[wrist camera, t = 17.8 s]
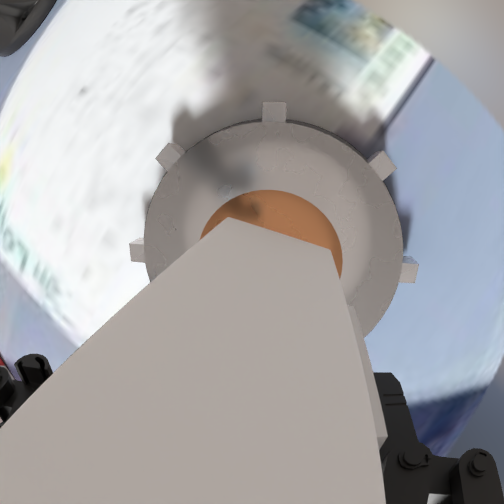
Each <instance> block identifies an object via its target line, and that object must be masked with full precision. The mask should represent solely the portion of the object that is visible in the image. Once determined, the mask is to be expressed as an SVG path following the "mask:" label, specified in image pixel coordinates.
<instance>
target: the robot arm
mask: <svg viewBox="0 0 504 504" xmlns="http://www.w3.org/2000/svg"><path fill="white" fill-rule="evenodd" d="M55 1H56V0H0V56H1V57H6V56H9V55H11V54H12V53H14V52H15V51H17V50H18V49H19V48H20V47H21V46H22V45H23V44H24V43H25V42H26V41H27V40H28V39H29V38H30V37H31V36H32V34H33V33H34V32H35V31H36V29H37V28H38V27H39V26H40V24H41V23H42V21H43V20H44V19H45V17H46V16H47V14H48V13H49V11H50V10H51V8H52V6H53V5H54V3H55ZM347 307H348V310H349V314H350V318H351V322H352V325H353V329H354V333H355V337H356V341H357V345H358V349H359V353H360V357H361V362H362V366H363V370H364V375H365V379H366V384H367V388H368V393H369V398H370V403H371V408H372V413H373V418H374V424H375V429H376V435H377V441H378V447H379V454H380V460H381V467H382V474H383V482H384V490H385V499H386V504H504V497H503V492H502V487H501V483H500V479H499V475H498V471H497V467H496V463H495V461H494V459H493V457H492V455H491V454H489V453H488V452H487V451H485V450H482V449H475V448H474V449H471V450H468V451H466V453H464V454H463V455H462V456H461V457H460V458H459V459H457V458H447V457H439V456H435V455H433V454H432V453H431V451H430V449H429V448H428V447H426V446H425V445H424V444H423V443H420V442H419V441H418V439H417V436H416V432H415V429H414V426H413V422H412V419H411V416H410V412H409V409H408V406H407V405H406V400H405V396H403V394H404V393H403V390H402V387H401V384H400V382H399V381H398V380H397V379H396V378H395V376H394V375H393V374H392V373H373V370H372V367H371V363H370V359H369V355H368V352H367V348H366V345H365V341H364V338H363V334H362V331H361V328H360V324H359V321H358V318H357V314H356V311H355V308H354V306H349V305H347ZM82 345H83V344H82ZM82 345H81V346H82ZM78 349H79V348H78ZM14 365H15V367H16V369H17V372H18V374H19V376H20V378H21V380H22V381H17V380H12V378H11V376H10V374H9V372H8V370H7V369H6V368H4V367H1V366H0V417H1V419H2V420H3V422H2V423H0V428H1V427H2V426H3V425H4V424H5V423H6V422H7V420H8V419H9V418H10V417H11V416H12V415H13V414H14V413H15V412H16V411H17V410H18V409H19V408H20V407H21V406H22V405H23V403H24V402H25V401H26V400H27V399H28V398H29V397H30V396H31V395H32V394H33V393H34V392H35V391H36V390H37V389H38V388H39V387H40V386H41V385H42V384H43V383H44V382H45V381H46V380H47V379H48V378H49V377H50V376H51V375H52V374H53V372H52V369H51V367H50V365H49V362H48V359H47V358H45V357H44V356H43V355H40V354H29V355H26V356H23V357H22V358H20V359H18V360H17V362H16V363H15V364H14Z"/></svg>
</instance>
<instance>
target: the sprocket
mask: <svg viewBox="0 0 504 504" xmlns="http://www.w3.org/2000/svg"><path fill="white" fill-rule="evenodd" d="M286 122H287V105H286V102H262V122H255V123H249V124H244V125H239V126H234V127H231V128H228V129H225V130H223V131H220V132H217V133H215V134H213V135H211V136H209V137H207V138H206V139H204V140H202V141H200V142H199V143H197V144H196V145H195V146H193V147H192V148H190V149H189V150H188V151H186V152H185V151H184V150H183V149H182V147H181V146H180V145H179V144H173V143H168V144H167V145H166V147H165V148H164V149H163V150H162V151H161V152H160V154H159V155H158V156H157V157H156V158H155V159H156V160H157V161H158V162H159V163H160V164H161V165H162V166H163V167H164V168H165V169H166V171H167V173H166V174H165V176H164V177H163V179H162V180H161V182H160V184H159V186H158V188H157V189H156V191H155V193H154V196H153V198H152V201H151V203H150V206H149V209H148V213H147V218H146V222H145V230H144V238H138V239H136V240H135V241H133V242H131V243H129V245H130V255H131V261H134V262H144V263H146V269H147V273H148V276H149V279H150V282H152V281H153V280H154V279H155V278H156V277H157V276H158V275H160V274H161V273H162V272H163V271H164V270H165V269H166V268H168V267H169V266H170V265H171V264H172V263H173V262H175V261H176V260H177V259H178V258H179V257H180V256H182V255H183V254H184V253H185V252H186V251H187V250H189V249H190V248H191V247H192V246H193V245H195V244H196V243H197V242H198V241H199V240H200V239H202V238H203V237H204V236H205V235H206V234H208V233H209V232H210V231H211V230H212V229H214V228H215V227H216V226H217V225H219V224H220V223H221V222H222V221H223V220H225V219H226V218H227V217H231V218H234V219H237V220H240V221H243V222H247V223H250V224H253V225H256V226H259V227H262V228H266V229H269V230H272V231H275V232H278V233H281V234H284V235H287V236H290V237H294V238H297V239H300V240H303V241H306V242H309V243H312V244H315V245H318V246H321V247H324V248H327V249H329V250H331V253H332V256H333V259H334V262H335V266H336V269H337V272H338V276H339V279H340V282H341V286H342V289H343V293H344V296H345V300H346V303H347V305H349V306H354V308H355V311H356V314H357V318H358V321H359V324H360V328H361V331H362V334H363V338H364V337H365V336H367V335H368V334H369V333H370V332H371V331H372V330H373V328H374V327H375V326H376V325H377V323H378V322H379V321H380V320H381V318H382V317H383V315H384V314H385V312H386V310H387V309H388V307H389V305H390V303H391V301H392V299H393V296H394V294H395V292H396V289H397V286H398V282H402V283H415V280H416V275H417V271H418V266H419V264H418V263H417V262H416V261H415V260H414V259H413V258H412V257H410V256H403V237H402V231H401V225H400V220H399V217H398V214H397V211H396V207H395V204H394V202H393V200H392V198H391V196H390V194H389V192H388V190H387V188H386V186H385V185H384V183H383V182H382V181H383V180H384V179H386V178H387V177H388V176H389V175H390V174H391V173H392V172H393V171H395V170H396V169H397V168H396V167H395V165H394V164H393V163H392V161H391V160H390V159H389V157H388V156H387V155H386V154H385V152H384V151H376V152H375V153H374V154H373V155H372V156H371V157H369V158H368V159H367V160H366V161H365V160H364V159H363V158H362V157H361V156H360V155H358V154H357V153H356V152H355V151H353V150H352V149H351V148H350V147H348V146H347V145H345V144H344V143H342V142H340V141H339V140H337V139H335V138H334V137H332V136H330V135H327V134H325V133H323V132H320V131H318V130H315V129H313V128H309V127H305V126H301V125H297V124H293V123H286Z"/></svg>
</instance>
